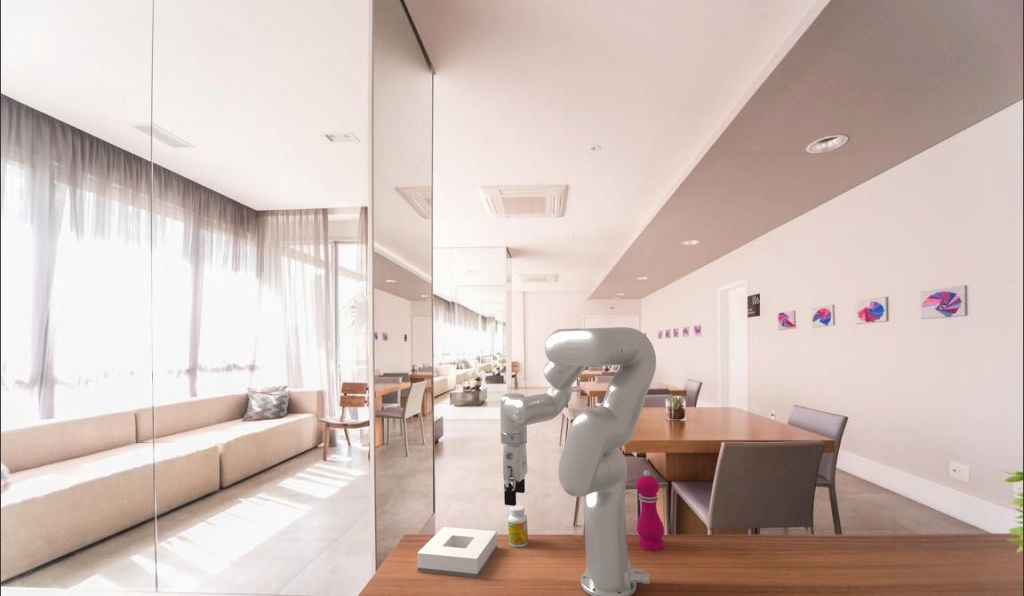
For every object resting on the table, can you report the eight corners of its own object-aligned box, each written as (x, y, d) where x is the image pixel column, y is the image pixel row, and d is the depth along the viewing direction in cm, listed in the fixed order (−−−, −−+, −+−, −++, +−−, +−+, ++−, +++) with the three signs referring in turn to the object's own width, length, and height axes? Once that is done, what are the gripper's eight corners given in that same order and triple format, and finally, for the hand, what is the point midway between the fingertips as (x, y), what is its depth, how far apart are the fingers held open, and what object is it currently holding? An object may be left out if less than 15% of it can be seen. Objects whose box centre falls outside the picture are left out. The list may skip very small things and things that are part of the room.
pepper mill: (667, 553, 119) (661, 474, 121) (638, 551, 121) (633, 473, 123) (663, 540, 127) (658, 466, 128) (636, 539, 128) (632, 466, 130)
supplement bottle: (505, 545, 127) (504, 509, 128) (514, 537, 132) (513, 503, 133) (522, 549, 125) (521, 512, 126) (531, 541, 130) (529, 505, 130)
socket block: (497, 548, 126) (496, 531, 126) (477, 578, 111) (476, 558, 111) (443, 543, 130) (443, 526, 131) (417, 571, 115) (417, 552, 115)
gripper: (518, 445, 122) (520, 511, 121) (533, 431, 138) (534, 489, 137) (492, 444, 124) (493, 509, 123) (509, 430, 140) (510, 487, 139)
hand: (515, 498), depth 130 cm, fingers open, 9 cm apart
